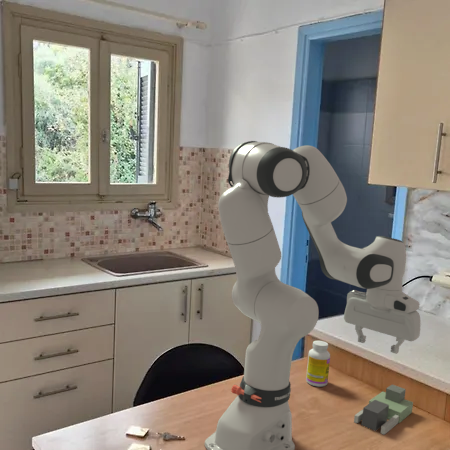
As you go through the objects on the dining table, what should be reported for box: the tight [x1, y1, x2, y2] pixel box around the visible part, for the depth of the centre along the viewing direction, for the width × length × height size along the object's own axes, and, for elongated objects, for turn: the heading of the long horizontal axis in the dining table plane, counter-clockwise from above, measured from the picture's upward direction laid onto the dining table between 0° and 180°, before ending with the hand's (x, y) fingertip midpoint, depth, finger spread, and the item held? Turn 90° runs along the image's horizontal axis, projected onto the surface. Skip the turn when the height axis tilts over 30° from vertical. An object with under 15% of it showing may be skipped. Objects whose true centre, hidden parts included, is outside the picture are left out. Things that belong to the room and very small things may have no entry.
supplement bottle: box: [305, 340, 331, 387], centre depth 160 cm, size 7×7×13 cm
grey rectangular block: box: [361, 400, 389, 432], centre depth 137 cm, size 7×4×5 cm, turn 139°
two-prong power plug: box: [353, 384, 414, 436], centre depth 141 cm, size 18×9×6 cm, turn 139°
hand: (377, 347), depth 139 cm, fingers open, 8 cm apart
